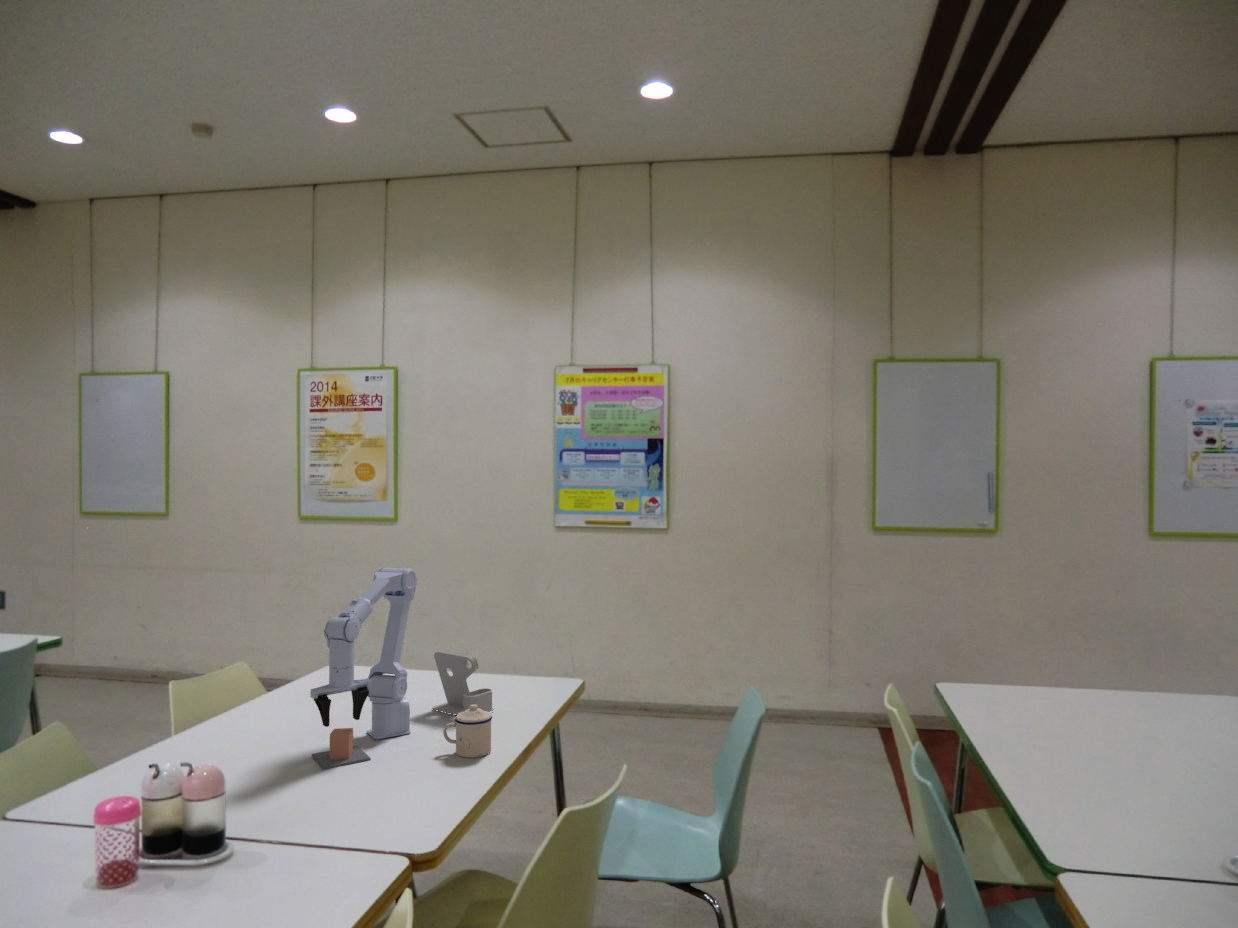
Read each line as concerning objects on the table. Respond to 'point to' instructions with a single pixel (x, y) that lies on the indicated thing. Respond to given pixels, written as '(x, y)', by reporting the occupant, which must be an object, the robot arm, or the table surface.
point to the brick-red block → (341, 743)
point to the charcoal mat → (326, 763)
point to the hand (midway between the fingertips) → (341, 722)
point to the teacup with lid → (472, 733)
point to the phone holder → (460, 683)
